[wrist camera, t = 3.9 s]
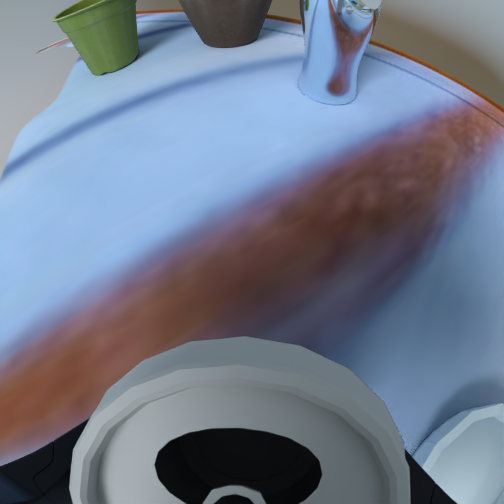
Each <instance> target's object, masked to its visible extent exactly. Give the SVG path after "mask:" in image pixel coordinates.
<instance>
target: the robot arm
mask: <svg viewBox="0 0 504 504" xmlns="http://www.w3.org/2000/svg"><path fill="white" fill-rule="evenodd" d="M90 418H91V417H90ZM90 418H89V419H90ZM89 419H87V420H86V421H84V422H82V423H81V424H79V425H78V426H76V427H75V428H73V429H71V430H70V431H68V432H67V433H65V434H64V435H62V436H60V437H59V438H57V439H55V440H54V442H53V441H52V442H50V443H49V444H47V445H46V446H44V447H42V448H40V449H38V450H37V451H35V452H33V453H31V454H29V455H26V456H24V457H22V458H20V459H17V460H15V461H12V462H10V463H8V464H5V465H3V466H0V504H73V502H72V498H71V494H70V490H69V485H70V474H71V464H72V455H73V449H74V447H75V445H76V443H77V441H78V439H79V438H80V436H81V434H82V432H83V430H84V428H85V427H86V425H87V423H88V421H89ZM404 450H405V448H404ZM405 459H406V461H407V463H408V466H409V471H410V502H411V504H457V503H456V502H455V501H454V500H453V499H452V498H451V497H450V496H449V495H448V494H447V493H446V492H445V491H444V490H443V489H442V488H441V487H440V486H439V485H438V484H437V483H436V484H435V481H434V480H433V479H432V478H431V477H430V476H429V475H428V473H427V472H426V471H425V470H424V469H423V468H422V467H421V466H420V465H419V464H418V463H417V462H416V460H415V459H414V458H413V457H412V456H411V455H410V454H409V453H408V452H407V451H406V450H405Z"/></svg>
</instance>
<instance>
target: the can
mask: <svg viewBox="0 0 504 504" xmlns="http://www.w3.org/2000/svg"><path fill="white" fill-rule="evenodd" d="M69 490H70V494H71V498H72V502H73V504H411V502H410V471H409V466H408V463H407V461H406V459H405V450H404V441H403V439H402V437H401V435H400V433H399V431H398V429H397V427H396V425H395V423H394V421H393V419H392V417H391V415H390V413H389V411H388V409H387V407H386V405H385V403H384V401H383V400H382V399H380V398H379V397H378V396H377V395H376V394H375V393H374V392H373V391H372V390H371V389H370V388H369V387H368V386H367V385H366V384H365V383H363V382H362V381H361V380H360V379H359V378H358V377H357V376H356V375H355V374H354V373H353V372H352V371H351V370H350V369H349V368H347V367H344V366H342V365H340V364H338V363H336V362H334V361H332V360H329V359H327V358H325V357H323V356H321V355H319V354H317V353H315V352H313V351H311V350H309V349H307V348H305V347H302V346H300V345H294V344H288V343H281V342H275V341H269V340H264V339H258V338H253V337H247V336H242V337H233V338H224V339H214V340H203V341H191V342H188V343H186V344H183V345H181V346H178V347H176V348H173V349H171V350H168V351H166V352H163V353H161V354H158V355H156V356H153V357H151V358H148V359H145V360H143V361H142V362H140V363H139V364H138V365H137V366H136V367H134V368H133V369H132V370H131V371H130V372H128V373H127V374H126V375H125V376H124V377H122V378H121V379H120V380H119V381H118V382H116V383H115V384H114V385H113V386H112V387H110V388H109V389H108V390H107V391H106V393H105V395H104V396H103V398H102V400H101V402H100V403H99V405H98V407H97V409H96V410H95V412H93V414H92V416H91V418H90V419H89V421H88V423H87V425H86V427H85V428H84V430H83V432H82V434H81V436H80V438H79V439H78V441H77V443H76V445H75V447H74V449H73V455H72V464H71V474H70V485H69Z"/></svg>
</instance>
